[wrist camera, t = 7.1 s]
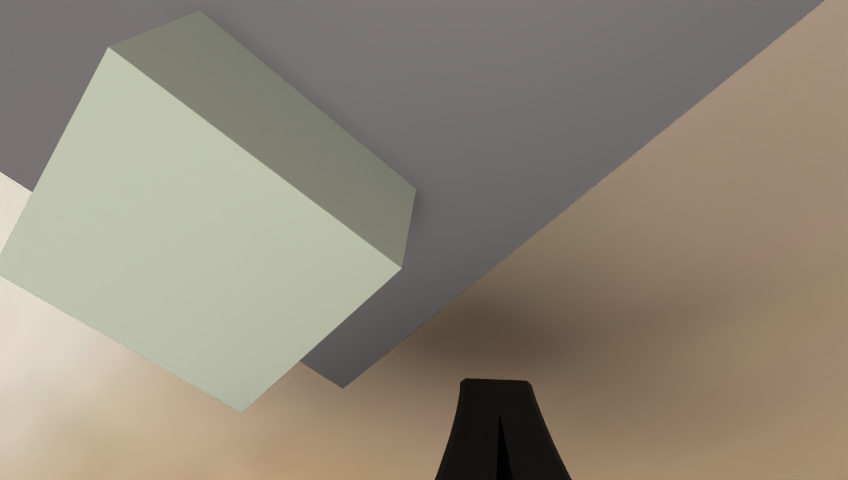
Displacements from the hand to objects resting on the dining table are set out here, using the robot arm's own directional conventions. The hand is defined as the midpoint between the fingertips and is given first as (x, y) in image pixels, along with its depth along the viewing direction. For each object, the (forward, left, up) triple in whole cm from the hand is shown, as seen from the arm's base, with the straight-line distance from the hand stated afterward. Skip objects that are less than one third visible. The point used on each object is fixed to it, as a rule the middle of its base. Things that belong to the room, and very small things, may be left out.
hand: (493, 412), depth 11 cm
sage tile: (+6, 0, -1) cm, 7 cm away
